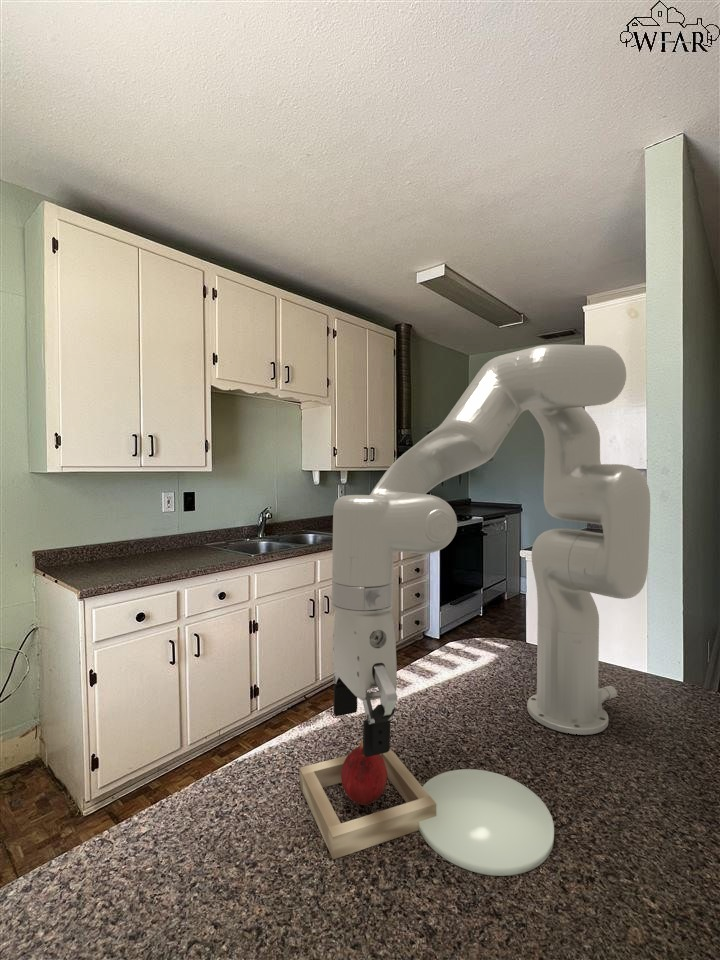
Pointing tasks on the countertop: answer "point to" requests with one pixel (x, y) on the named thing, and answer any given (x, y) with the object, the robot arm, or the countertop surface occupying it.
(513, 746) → the countertop surface
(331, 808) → the frame
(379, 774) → the onion
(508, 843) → the plate
